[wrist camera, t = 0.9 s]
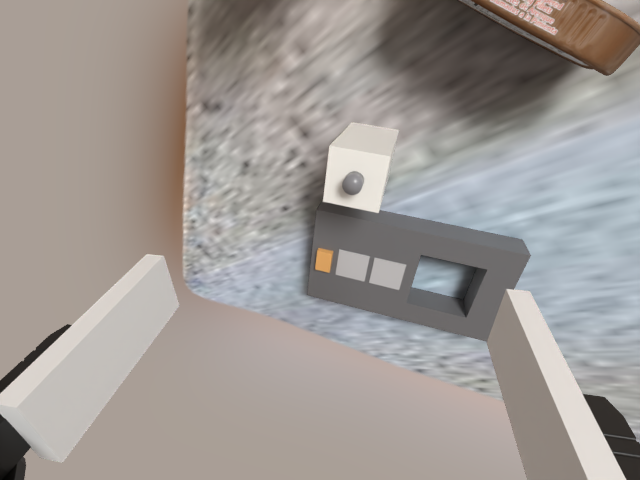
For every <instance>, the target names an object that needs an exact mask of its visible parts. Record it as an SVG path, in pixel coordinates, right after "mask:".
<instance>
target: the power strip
mask: <svg viewBox="0 0 640 480" xmlns="http://www.w3.org/2000/svg"><path fill="white" fill-rule="evenodd" d="M421 255H424V256H429V257H433V258H438V259H442V260H446V261H451V262H455V263H460V264H464V265H469V266H473V267H477V269H476V271H475V274H474V276H473V278H472V281H471V283H470V286H469V288H468V290H467V293H466V295H465V298H464V300H462V299H458V298H453V297H449V296H445V295H441V294H437V293H433V292H429V291H424V290H420V289H416V288H412V287H411V286H412V283H413V280H414V276H415V273H416V270H417V267H418V263H419V260H420V257H421ZM530 256H531V255H530V253H529V251H528V249H527V247H526V245H525V243H524V241H523V240H522V239H517V238H512V237H507V236H502V235H498V234H493V233H488V232H483V231H478V230H473V229H469V228H464V227H459V226H454V225H449V224H444V223H439V222H435V221H430V220H425V219H420V218H415V217H410V216H406V215H401V214H396V213H391V212H386V211H381V210H379V213H375V212H371V211H366V210H361V209H356V208H351V207H347V206H342V205H337V204H332V203H327V202H323V201H322V202H321V204H320V205H319V207H318V208H317V210H316V218H315V227H314V236H313V246H312V255H311V264H310V273H309V282H308V291H307V295H309V296H313V297H317V298H320V299H324V300H328V301H332V302H336V303H340V304H344V305H347V306H351V307H355V308H359V309H363V310H367V311H371V312H375V313H378V314H382V315H386V316H390V317H394V318H398V319H402V320H405V321H409V322H413V323H417V324H421V325H425V326H429V327H432V328H436V329H440V330H444V331H448V332H452V333H456V334H460V335H463V336H467V337H471V338H475V339H479V340H483V341H487V340H488V338H489V335H490V332H491V329H492V327H493V324H494V321H495V318H496V316H497V313H498V310H499V307H500V305H501V302H502V299H503V296H504V294H505V291H506V289H513V290H514V288H515V286H516V284H517V282H518V280H519V278H520V276H521V274H522V272H523V270H524V268H525V266H526V264H527V262H528V260H529V258H530Z"/></svg>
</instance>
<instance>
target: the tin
mask: <svg viewBox="0 0 640 480" xmlns="http://www.w3.org/2000/svg"><path fill="white" fill-rule="evenodd" d="M458 1H460V2H461V3H463V4H465V5H467V6H468V7H470V8H472V9H474V10H475V11H477V12H479V13H481V14H482V15H484V16H486V17H487V18H489V19H491V20H493V21H494V22H496V23H498V24H500V25H502V26H503V27H505V28H507V29H509V30H511V31H513V32H514V33H516V34H518V35H520V36H522V37H524V38H526V39H528V40H529V41H531V42H533V43H535V44H537V45H539V46H541V47H543V48H545V49H547V50H549V51H550V52H552V53H554V54H556V55H558V56H560V57H562V58H564V59H566V60H568V61H570V62H572V63H574V64H577V65H579V66H581V67H584V68H587V69H595V70H596V71H598V72H600V73H602V74H603V75H606V76H608V75H611V74H612V73H614V72H615V71H616V70H617V69H618V68H619V67H620V66H621V65H622V63H623V62H624V61H625V60H626V59H627V58H628V57H629V56H630V55H631V53H632V52H633V51H634V50H635V49H636V48H637V47H638V46H639V45H640V24H639V23H638V22H636V21H635V20H634V19H632V18H631V17H629V16H627V15H626V14H625V13H623V12H621V11H620V10H618V9H616V8H615V7H613V6H611V5H610V4H608V3H606V2H604V1H602V0H458Z"/></svg>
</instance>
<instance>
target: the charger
mask: <svg viewBox="0 0 640 480" xmlns="http://www.w3.org/2000/svg"><path fill="white" fill-rule="evenodd" d="M398 132H399V130H396V129H390V128H384V127H378V126H372V125H366V124H359V123H353V122H352V123H351V124H350V125H349V126H348V127H347V128H346V129H345V130H344V131H343V132H342V133H341V134H340V135H339V136H338V137H337V138H336V139H335V140H334V141H333V142H332V144H331V145H330V146H329V154H328V162H327V171H326V179H325V188H324V196H323V202H327V203H332V204H337V205H342V206H347V207H351V208H356V209H361V210H366V211H371V212H375V213H379V210H380V206H381V203H382V199H383V196H384V192H385V188H386V185H387V181H388V178H389V174H390V169H391V164H392V160H393V155H394V151H395V146H396V142H397V137H398Z"/></svg>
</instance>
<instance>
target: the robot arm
mask: <svg viewBox="0 0 640 480" xmlns="http://www.w3.org/2000/svg"><path fill="white" fill-rule="evenodd" d="M178 307H179V303H178V299H177V296H176V293H175V290H174V287H173V283H172V280H171V277H170V274H169V271H168V268H167V265H166V261H165V259H164V256H161V255H151V254H146V255H145V256H144V257H143V258H142V259H141V260H140V261H139V262H138V263H137V264H136V265H135V266H134V267H133V268H132V269H131V270H130V271H128V273H126V274H125V275H124V276H123V277H122V278H121V279H120V280H119V281H118V282H117V283H116V284H115V285H114V286H113V287H112V288H111V289H110V290H109V291H108V292H107V293H105V294H104V295H103V296H102V297H101V298H100V299H99V300H98V301H97V302H96V303H95V304H94V305H93V306H92V307H91V308H90V309H89V310H88V311H87V312H85V313H84V314H83V315H82V316H81V317H80V318H79V319H78V320H77V321H76V322H75V323H74V324H73V325H68V324H67V325H66V326H64V327H62V328H61V329H59V330H57V331H56V332H54V333H52V334H51V335H50V336H48V338H46V339H45V340H44V341H43V342H42V343H41V344H40V345H39V346H37V347H36V350H35V351H32V352H31V353H30V354H29V355H28V356H27V357H26V358H24V361H21V362H20V363H19V364H18V365H17V366H16V367H15V368H14V369H13V370H11V371H10V372H9V373H8V374H7V375H6V376H5V377H4V378H3V379H2V380H0V480H24V476H25V469H26V462H25V458H24V457H23V456H24V455H25V453H26V452H27V451H28V450H29V449H30V448H32V450H33V451H34V452H35V453H36V454H37V455H38V456H39V457H40V458H43V459H48V460H53V461H57V462H63V461H64V460H65V459H66V457H67V456H68V455H69V453H70V452H71V451H72V449H73V448H74V447H75V445H76V444H77V443H78V441H79V440H80V439H81V437H82V436H83V434H84V433H85V432H86V430H87V429H88V428H89V426H90V425H91V424H92V422H93V421H94V419H95V418H96V417H97V416H98V414H99V413H100V412H101V410H102V409H103V408H104V406H105V405H106V404H107V402H108V401H109V400H110V398H111V397H112V396H113V394H114V393H115V391H116V390H117V389H118V388H119V386H120V385H121V383H122V382H123V381H124V379H125V378H126V377H127V375H128V374H129V373H130V371H131V370H132V369H133V367H134V366H135V365H136V363H137V362H138V361H139V359H140V358H141V357H142V355H143V354H144V352H145V351H146V350H147V348H148V347H149V346H150V344H151V343H152V342H153V341H154V339H155V338H156V336H157V335H158V334H159V332H160V331H161V330H162V328H163V327H164V326H165V324H166V323H167V322H168V320H169V319H170V318H171V316H172V315H173V314H174V312H175V311H176V309H177V308H178ZM487 345H488V349H489V352H490V355H491V359H492V362H493V366H494V369H495V372H496V376H497V379H498V382H499V386H500V389H501V393H502V396H503V399H504V403H505V406H506V409H507V413H508V416H509V419H510V423H511V426H512V430H513V433H514V436H515V440H516V443H517V447H518V450H519V453H520V457H521V460H522V463H523V467H524V470H525V474H526V477H527V480H640V444H639V442H637V441H636V437H635V435H634V434H633V432H632V430H631V428H630V427H629V425H628V423H627V422H626V420H625V418H624V416H623V415H622V414H621V413H620V412H619V411H618V410H617V409H616V408H615V407H614V406H613V405H612V404H611V403H610V402H609V401H608V400H607V399H606V398H605V397H601V396H593V395H586V394H582V392H581V390H580V388H579V386H578V384H577V382H576V381H575V379H574V377H573V375H572V373H571V371H570V369H569V367H568V365H567V363H566V361H565V359H564V357H563V355H562V353H561V351H560V349H559V347H558V345H557V343H556V341H555V340H554V338H553V336H552V334H551V332H550V330H549V328H548V326H547V324H546V322H545V320H544V318H543V316H542V314H541V312H540V310H539V308H538V306H537V304H536V302H535V300H534V298H533V297H532V295H531V293H530V291H523V290H513V289H506V291H505V294H504V296H503V299H502V302H501V305H500V307H499V310H498V313H497V316H496V318H495V321H494V324H493V327H492V329H491V332H490V335H489V338H488V340H487Z"/></svg>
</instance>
